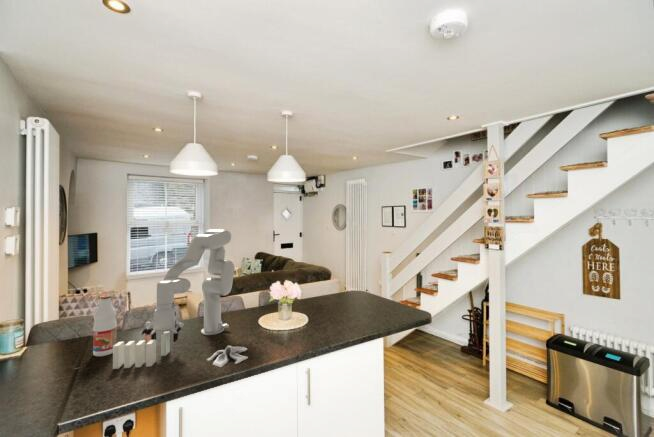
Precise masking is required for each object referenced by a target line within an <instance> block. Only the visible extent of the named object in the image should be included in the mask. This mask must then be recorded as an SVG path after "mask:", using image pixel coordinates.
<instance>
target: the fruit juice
mask: <svg viewBox="0 0 654 437" xmlns="http://www.w3.org/2000/svg"><path fill="white" fill-rule="evenodd" d="M111 299H112V295H111V294H104V295H100V296H99V297H98V300H99V304H98V306H97V308H96V309H95V311H94V313H93V319H94V322H93V327H92V343H93V344H92V353H93V356H95V357H105V356H109V355H111V354H112V355H113V346H114V345H115V344H117V343H118V342H117V341H118V339H117V338H118V336H117V334H118V331H117V328H118V325H117V324H118V323H117V319H116V316H117V309H116V308H115V307H114V306H113V304H112V302H111Z"/></svg>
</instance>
